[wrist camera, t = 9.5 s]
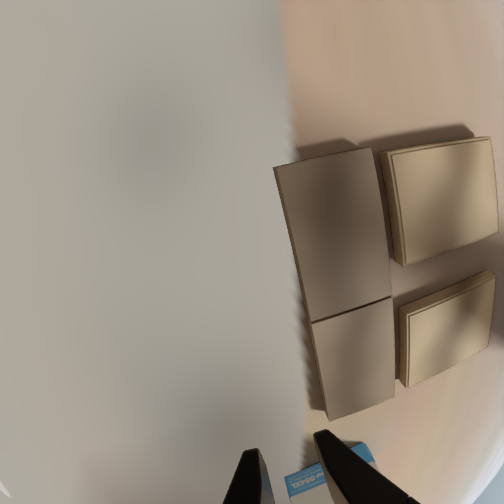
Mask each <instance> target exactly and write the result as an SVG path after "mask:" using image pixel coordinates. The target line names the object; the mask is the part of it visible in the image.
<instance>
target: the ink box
mask: <svg viewBox="0 0 504 504" xmlns="http://www.w3.org/2000/svg"><path fill="white" fill-rule="evenodd" d="M350 449H351V450H353V451H354V452H355V453H356V454H357V455H359V456H360V457H361V458H362V459H363V460H365V461H366V462H367V463H368V464H370V465H371V466H372V467H373V468H375V469H376V470H377V471H378V472H380V470H379V468H378V466H377V464H376V462H375V460H374V458H373V456H372V454H371V452H370V451H369V449H368V447H367V445H366V444H365V443H363V442H362V443H360V444H358V445H356V446H354V447H352V448H350ZM380 473H381V472H380ZM285 482H286V486H287V490H288V494H289V498H290V502H291V504H334V502H333V500H332V498H331V495H330V492H329V489H328V486H327V483H326V480H325V476H324V473H323V470H322V467H321V464H320V463H318V464H315V465H313V466H311V467H308V468H306V469H303V470H301V471H298V472H296V473H294V474H291V475H289V476H286V477H285Z"/></svg>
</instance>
